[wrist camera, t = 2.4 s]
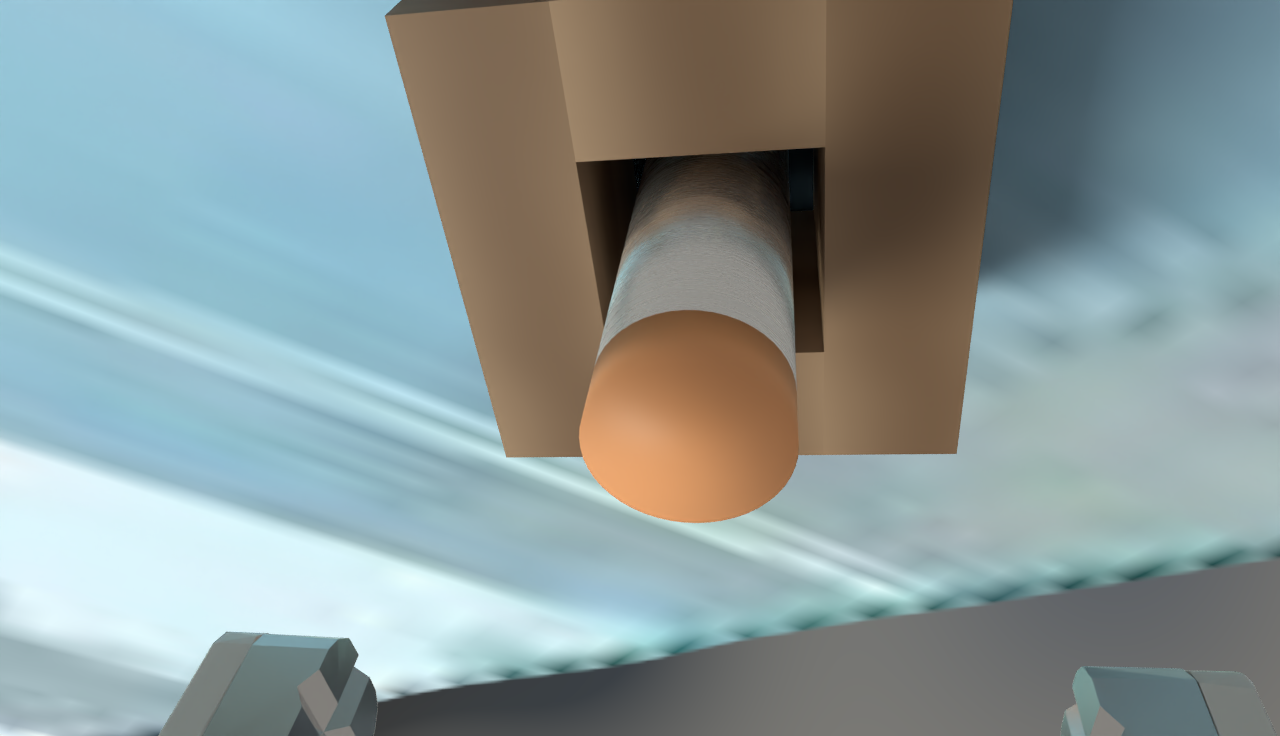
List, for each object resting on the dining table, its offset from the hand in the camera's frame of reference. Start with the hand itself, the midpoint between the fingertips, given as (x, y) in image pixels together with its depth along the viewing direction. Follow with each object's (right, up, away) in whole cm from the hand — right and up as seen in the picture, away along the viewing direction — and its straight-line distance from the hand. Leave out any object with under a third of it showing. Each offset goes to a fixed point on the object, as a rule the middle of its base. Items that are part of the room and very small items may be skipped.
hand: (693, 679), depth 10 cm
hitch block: (+1, +9, +12) cm, 15 cm away
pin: (+1, +9, +12) cm, 15 cm away
